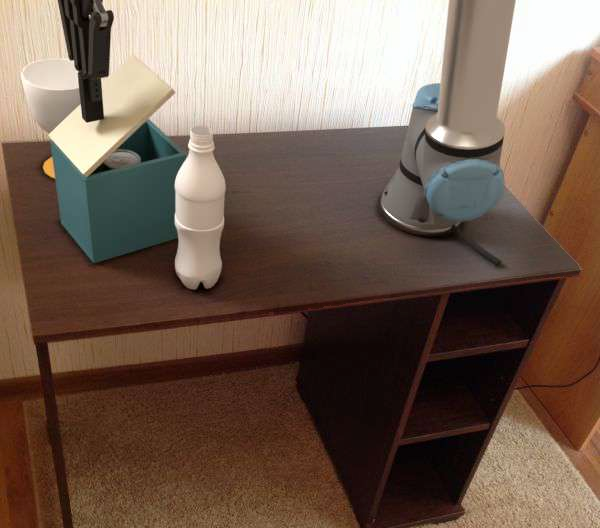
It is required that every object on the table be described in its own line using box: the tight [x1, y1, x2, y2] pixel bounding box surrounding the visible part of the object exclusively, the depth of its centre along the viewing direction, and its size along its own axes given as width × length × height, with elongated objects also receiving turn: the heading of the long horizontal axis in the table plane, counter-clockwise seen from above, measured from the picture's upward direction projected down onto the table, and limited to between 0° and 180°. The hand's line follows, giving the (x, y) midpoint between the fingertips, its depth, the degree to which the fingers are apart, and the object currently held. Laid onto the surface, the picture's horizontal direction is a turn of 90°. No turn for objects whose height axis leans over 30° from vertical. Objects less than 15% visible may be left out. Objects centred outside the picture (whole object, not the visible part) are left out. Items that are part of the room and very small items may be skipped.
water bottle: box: [174, 124, 227, 290], centre depth 109 cm, size 7×7×25 cm
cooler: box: [49, 118, 188, 264], centre depth 119 cm, size 17×12×15 cm
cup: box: [20, 57, 81, 180], centre depth 129 cm, size 12×12×17 cm
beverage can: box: [100, 149, 141, 172], centre depth 120 cm, size 7×7×12 cm
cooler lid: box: [47, 53, 176, 178], centre depth 109 cm, size 18×12×1 cm
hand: (93, 118), depth 108 cm, fingers closed
